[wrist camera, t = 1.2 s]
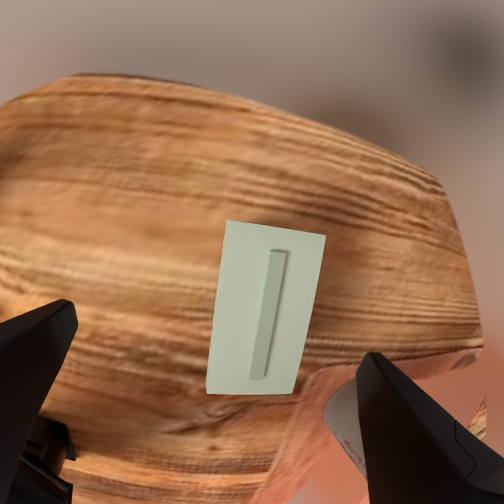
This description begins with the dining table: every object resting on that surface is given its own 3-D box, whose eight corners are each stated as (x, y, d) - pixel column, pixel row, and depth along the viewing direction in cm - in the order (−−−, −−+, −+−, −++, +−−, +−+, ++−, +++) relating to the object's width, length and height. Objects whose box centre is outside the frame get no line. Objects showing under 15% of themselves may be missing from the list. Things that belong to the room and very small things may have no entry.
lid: (287, 385, 21) (293, 395, 20) (205, 384, 20) (207, 396, 18) (318, 233, 20) (328, 235, 18) (226, 219, 18) (230, 220, 17)
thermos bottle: (327, 437, 30) (449, 594, 3) (317, 397, 28) (477, 587, 1) (380, 408, 31) (518, 534, 4) (377, 365, 29) (556, 502, 2)
